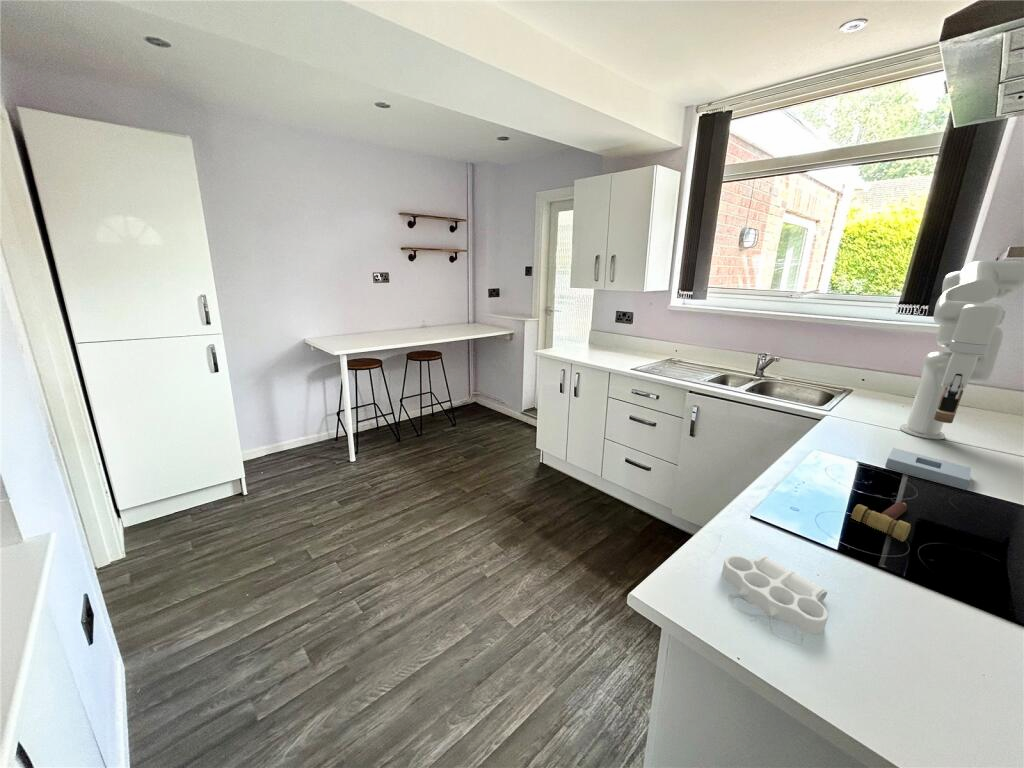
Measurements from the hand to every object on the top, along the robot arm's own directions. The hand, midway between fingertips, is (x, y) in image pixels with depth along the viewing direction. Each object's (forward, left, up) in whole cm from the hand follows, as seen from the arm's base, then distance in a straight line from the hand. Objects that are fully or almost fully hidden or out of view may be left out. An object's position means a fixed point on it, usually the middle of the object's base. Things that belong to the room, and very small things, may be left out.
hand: (947, 408), depth 125 cm
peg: (0, 0, -4) cm, 4 cm away
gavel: (+42, -4, -21) cm, 47 cm away
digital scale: (0, 0, -21) cm, 21 cm away
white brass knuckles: (+93, -15, -21) cm, 97 cm away
